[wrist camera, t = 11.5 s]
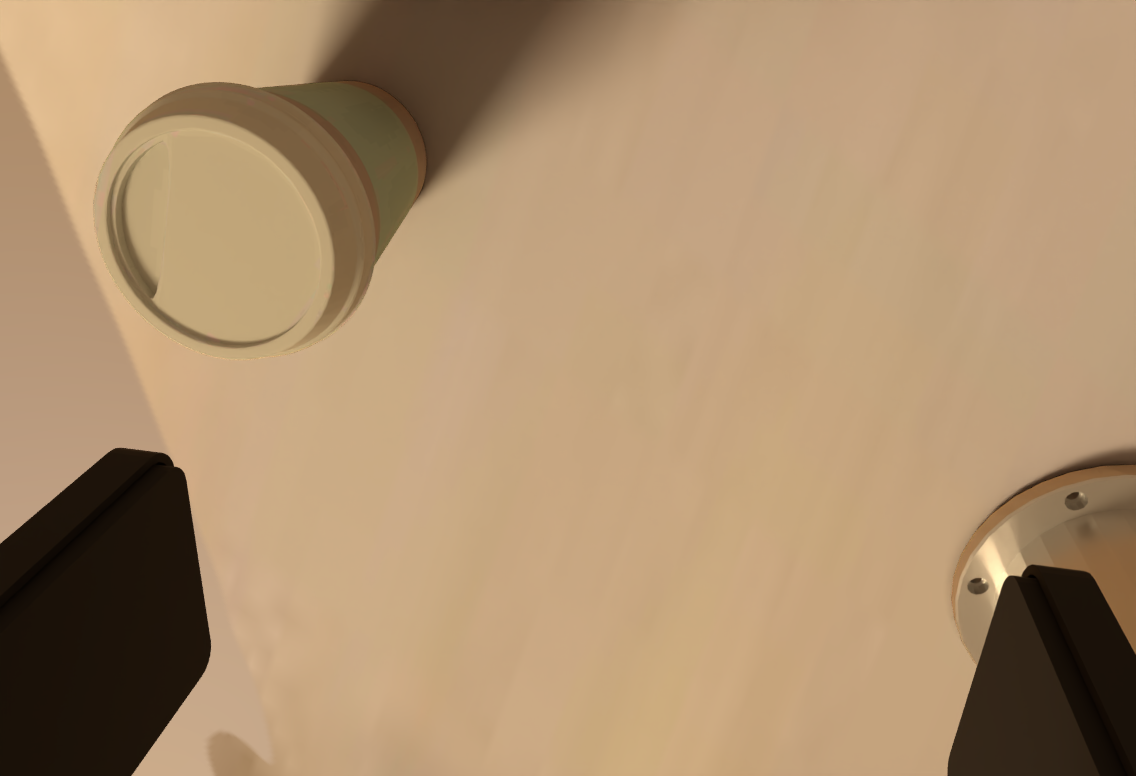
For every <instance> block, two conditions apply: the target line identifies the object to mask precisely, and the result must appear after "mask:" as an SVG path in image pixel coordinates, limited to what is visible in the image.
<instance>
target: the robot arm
mask: <svg viewBox="0 0 1136 776" xmlns="http://www.w3.org/2000/svg"><path fill="white" fill-rule="evenodd" d="M951 601H952V607H953V613H954V620H955V623H956V626H957V628H958V631H959V634H960V637H961V641H962V643H963V645H964V646H965V648H966V650H967V652H968V653H969V655H970V657H971V658H972V660H973V661H974V663H975V664H976V665H977V668H976V672H975V675H974V678H973V681H972V685H971V688H970V691H969V694H968V697H967V701H966V704H965V707H964V710H963V714H962V717H961V720H960V723H959V726H958V730H957V733H956V736H955V739H954V743H953V746H952V749H951V752H950V756H949V761H948V776H1136V465H1113V466H1100V467H1095V468H1090V469H1084V470H1079V471H1074V472H1070V473H1067V474H1064V475H1061V476H1059V477H1056V478H1053V479H1050V480H1047V481H1044V482H1041V483H1040V484H1038V485H1036V486H1034V487H1032V488H1030V489H1028V490H1026V491H1024V492H1023V493H1021V494H1019V495H1017V496H1015V497H1014V498H1012V499H1011V500H1010V501H1008V502H1007V503H1006V504H1004V505H1003V506H1002V507H1000V508H999V509H998V510H996V511H995V512H994V513H993V514H991V516H990V517H989V518H988V519H987V520H986V521H985V522H984V523H983V524H982V525H981V526H980V527H979V528H978V530H977V531H976V532H975V533H974V534H973V536H972V537H971V539H970V541H969V542H968V544H967V546H966V547H965V549H964V550H963V552H962V554H961V556H960V559H959V562H958V564H957V567H956V570H955V573H954V576H953V585H952V595H951ZM210 652H211V640H210V634H209V627H208V621H207V614H206V607H205V601H204V594H203V587H202V581H201V574H200V567H199V562H198V554H197V548H196V541H195V534H194V528H193V521H192V515H191V508H190V501H189V495H188V488H187V482H186V477H185V474H184V472H183V471H182V469H180V468H178V467H174V464H173V462H172V460H171V459H170V457H169V456H168V455H166V454H164V453H158V452H150V451H143V450H135V449H126V448H115V449H113V450H112V451H110V452H108V453H107V454H106V455H105V456H104V457H103V458H101V459H100V460H99V461H98V462H97V463H95V464H94V465H93V466H92V467H91V468H89V469H88V470H87V471H86V472H85V473H84V474H82V475H81V476H80V477H79V478H78V479H76V480H75V481H74V482H73V483H72V484H70V485H69V486H68V487H67V488H66V489H65V490H64V491H62V492H61V493H60V494H59V495H57V496H56V497H55V498H54V499H53V500H52V501H51V502H50V503H48V504H47V505H46V506H44V507H43V508H42V509H41V510H40V511H39V512H37V513H36V514H35V515H34V516H33V517H31V518H30V519H29V520H28V521H27V522H26V523H24V524H23V525H22V526H21V527H20V528H18V529H17V530H16V531H15V532H14V533H13V534H11V535H10V536H9V537H8V538H7V539H5V540H4V541H3V542H2V543H1V544H0V776H131V775H132V774H133V773H134V771H135V770H136V768H137V767H138V766H139V764H140V763H141V761H142V760H143V759H144V757H145V756H146V754H147V753H148V751H149V750H150V749H151V747H152V746H153V744H154V743H155V741H156V740H157V739H158V737H159V736H160V734H161V733H162V732H163V730H164V729H165V727H166V726H167V724H168V723H169V721H170V720H171V719H172V718H173V716H174V715H175V713H176V712H177V711H178V709H179V707H180V706H181V705H182V703H183V702H184V701H185V699H186V698H187V696H188V695H189V694H190V692H191V691H192V689H193V688H194V687H195V685H196V684H197V682H198V681H199V679H200V678H201V677H202V675H203V673H204V672H205V669H206V667H207V664H208V662H209V657H210Z"/></svg>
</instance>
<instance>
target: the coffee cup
mask: <svg viewBox="0 0 1136 776" xmlns="http://www.w3.org/2000/svg"><path fill="white" fill-rule="evenodd" d="M425 175H426V151H425V146H424V142H423V138H422V136H421V133H420V131H419V128H418V126H417V124H416V123H415V121H414V119H413V118H412V116H411V115H410V113H409V112H408V111H407V110H406V109H405V107H404V106H403V105H402V104H401V103H400V102H399V101H398V100H396V99H395V98H394V97H393V96H391V95H390V94H388V93H387V92H385V91H384V90H382V89H380V88H378V87H375V86H373V85H370V84H367V83H363V82H358V81H335V82H320V83H309V84H297V85H286V86H274V87H263V88H254V87H250V86H246V85H241V84H234V83H224V82H211V83H201V84H195V85H190V86H186V87H183V88H180V89H177V90H175V91H172V92H170V93H168V94H166V95H164V96H163V97H161V98H159V99H158V100H156V101H155V102H153V103H152V104H151V105H150V106H148V107H147V108H146V109H144V110H143V111H142V112H140V113H139V114H138V115H137V116H136V117H135V118H134V119H133V120H132V121H131V122H130V123H129V124H128V125H127V127H126V128H125V129H124V131H123V132H122V133H121V135H120V136H119V138H118V140H117V142H116V143H115V145H114V147H113V149H112V151H111V152H110V154H109V156H108V157H107V159H106V161H105V162H104V164H103V167H102V169H101V171H100V174H99V177H98V180H97V184H96V189H95V196H94V226H95V232H96V237H97V242H98V246H99V249H100V252H101V255H102V258H103V260H104V263H105V265H106V267H107V269H108V272H109V274H110V275H111V277H112V279H113V281H114V283H115V284H116V286H117V287H118V289H119V290H120V292H121V293H122V295H123V296H124V297H125V299H126V300H127V301H128V303H129V304H130V305H131V306H132V307H133V308H134V309H135V310H136V312H137V313H138V314H139V315H140V316H141V317H142V318H143V319H145V320H146V321H147V322H148V323H149V324H150V325H151V326H153V327H154V328H155V329H156V330H158V331H159V332H160V333H162V334H163V335H165V336H166V337H168V338H169V339H171V340H173V341H175V342H176V343H178V344H180V345H182V346H184V347H186V348H188V349H191V350H193V351H196V352H198V353H201V354H204V355H208V356H212V357H216V358H222V359H229V360H251V359H259V358H264V357H277V356H283V355H287V354H291V353H295V352H298V351H300V350H303V349H305V348H308V347H310V346H312V345H313V344H316V343H318V342H320V341H322V340H324V339H325V338H327V337H329V336H330V335H332V334H333V333H334V332H336V331H337V330H338V329H339V328H341V327H342V326H343V325H344V324H345V323H346V322H347V321H348V320H349V319H350V317H351V316H352V315H353V314H354V312H355V311H356V310H357V308H358V307H359V305H360V303H361V302H362V300H363V298H364V296H365V294H366V291H367V289H368V286H369V284H370V280H371V277H372V273H373V268H374V265H375V264H376V262H377V261H378V259H379V258H380V256H381V254H382V253H383V251H384V250H385V248H386V247H387V245H388V243H389V242H390V240H391V239H392V237H393V236H394V234H395V232H396V231H397V229H398V228H399V226H400V225H401V223H402V221H403V220H404V218H405V217H406V215H407V214H408V212H409V210H410V209H411V207H412V205H413V204H414V202H415V200H416V199H417V197H418V195H419V193H420V191H421V189H422V187H423V183H424V180H425Z"/></svg>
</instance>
